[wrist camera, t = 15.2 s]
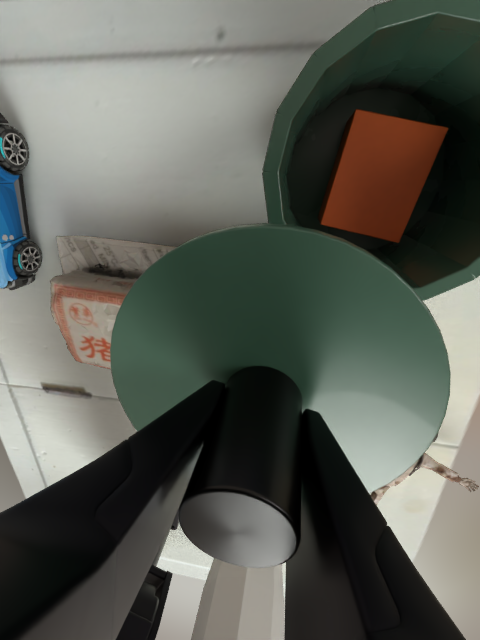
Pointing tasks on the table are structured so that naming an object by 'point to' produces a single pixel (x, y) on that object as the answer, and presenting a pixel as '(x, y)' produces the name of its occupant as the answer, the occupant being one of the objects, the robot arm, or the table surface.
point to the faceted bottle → (241, 604)
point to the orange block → (379, 174)
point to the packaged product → (96, 290)
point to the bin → (400, 101)
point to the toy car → (14, 214)
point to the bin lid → (279, 373)
